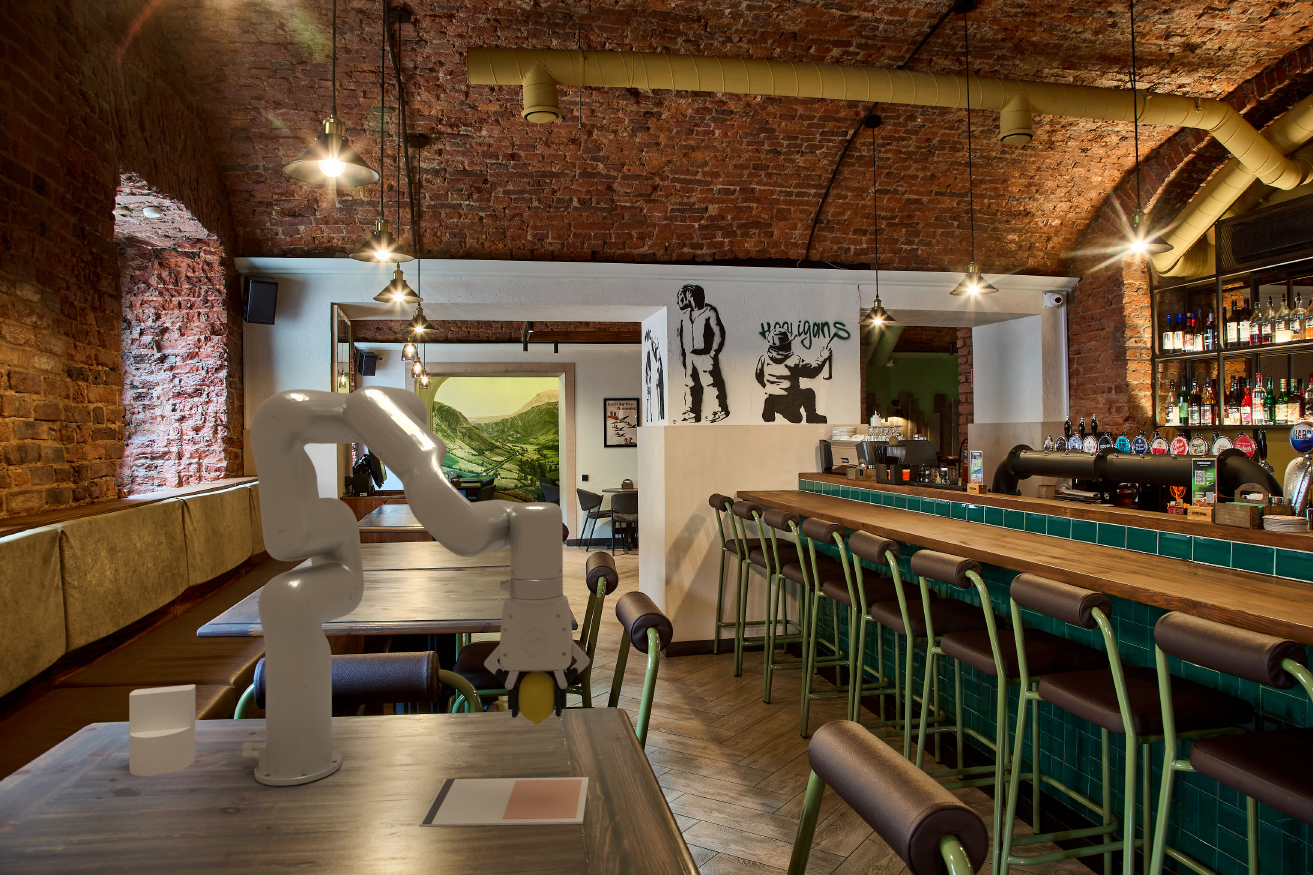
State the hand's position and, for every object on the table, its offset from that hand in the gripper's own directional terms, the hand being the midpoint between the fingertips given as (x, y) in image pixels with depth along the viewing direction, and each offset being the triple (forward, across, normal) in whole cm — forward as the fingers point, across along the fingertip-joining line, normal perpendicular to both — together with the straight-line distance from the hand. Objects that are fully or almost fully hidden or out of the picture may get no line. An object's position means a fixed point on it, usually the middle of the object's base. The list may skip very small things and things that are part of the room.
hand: (537, 712), depth 113 cm
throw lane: (+13, -4, 0) cm, 13 cm away
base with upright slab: (+13, -62, +15) cm, 65 cm away
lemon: (+2, 0, 0) cm, 2 cm away
